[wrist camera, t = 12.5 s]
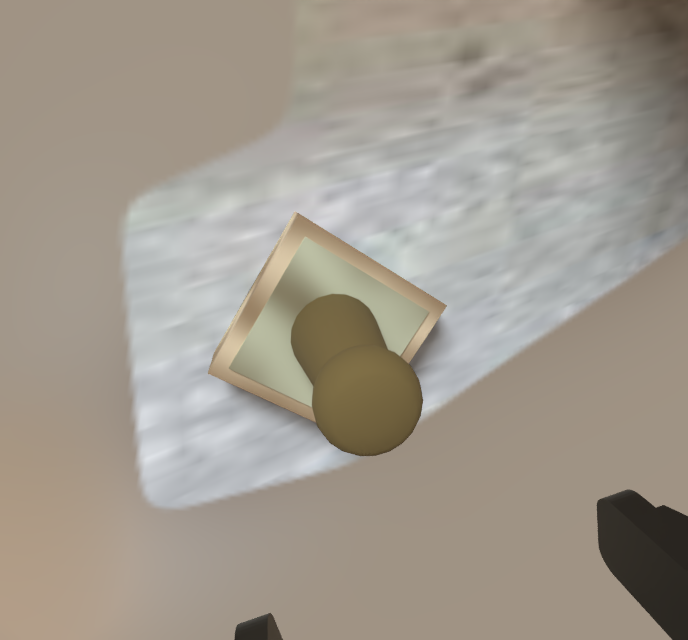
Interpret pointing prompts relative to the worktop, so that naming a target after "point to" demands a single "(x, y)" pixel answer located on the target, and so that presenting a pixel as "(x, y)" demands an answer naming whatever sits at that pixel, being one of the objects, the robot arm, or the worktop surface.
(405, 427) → the olive brown ball-ended cylinder
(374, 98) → the worktop surface
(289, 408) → the tray
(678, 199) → the worktop surface
